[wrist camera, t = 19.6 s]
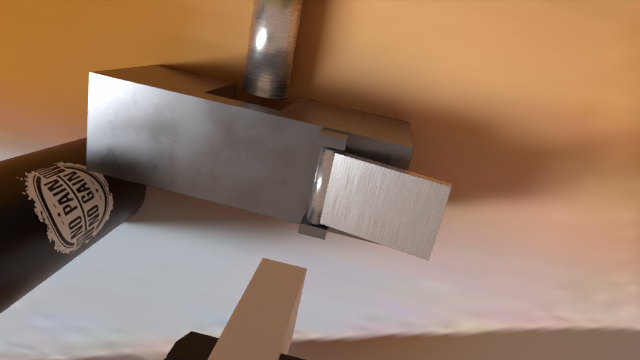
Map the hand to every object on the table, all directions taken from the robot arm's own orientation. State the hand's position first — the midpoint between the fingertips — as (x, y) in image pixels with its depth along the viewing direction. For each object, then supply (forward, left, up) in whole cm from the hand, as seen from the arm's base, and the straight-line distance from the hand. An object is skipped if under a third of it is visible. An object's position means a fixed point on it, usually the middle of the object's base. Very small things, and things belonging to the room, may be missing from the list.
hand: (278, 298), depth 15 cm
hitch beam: (-4, -5, -24) cm, 25 cm away
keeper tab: (0, -1, -14) cm, 14 cm away
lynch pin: (-10, -1, -24) cm, 27 cm away
